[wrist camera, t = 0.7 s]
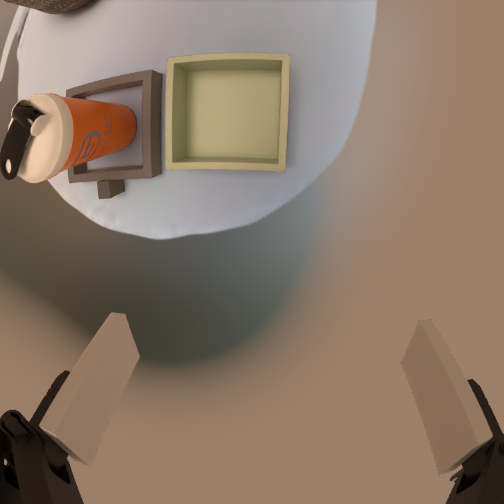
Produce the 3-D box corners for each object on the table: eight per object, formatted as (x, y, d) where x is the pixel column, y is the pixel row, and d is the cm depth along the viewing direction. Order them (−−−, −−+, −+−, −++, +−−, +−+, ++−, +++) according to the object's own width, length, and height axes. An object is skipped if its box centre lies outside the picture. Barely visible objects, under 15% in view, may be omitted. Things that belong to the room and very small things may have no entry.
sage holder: (182, 67, 30) (167, 58, 25) (286, 66, 30) (289, 54, 24) (181, 163, 36) (166, 169, 31) (282, 165, 35) (285, 171, 30)
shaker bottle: (85, 145, 35) (-15, 171, 17) (105, 91, 32) (3, 86, 13) (128, 166, 36) (31, 206, 18) (152, 110, 33) (55, 106, 15)
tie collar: (79, 91, 31) (62, 89, 27) (161, 74, 31) (149, 68, 27) (83, 192, 38) (67, 200, 34) (162, 190, 38) (150, 197, 34)
